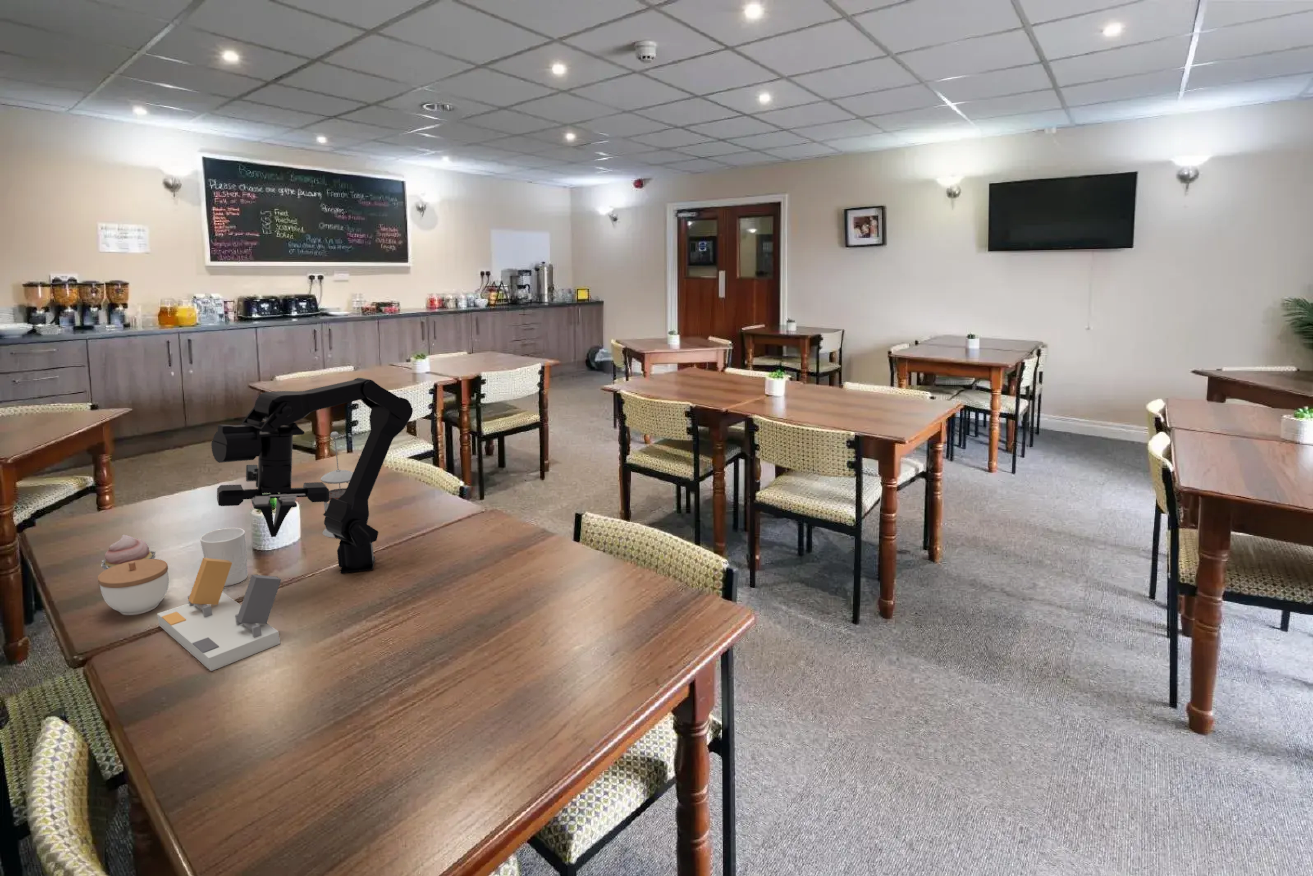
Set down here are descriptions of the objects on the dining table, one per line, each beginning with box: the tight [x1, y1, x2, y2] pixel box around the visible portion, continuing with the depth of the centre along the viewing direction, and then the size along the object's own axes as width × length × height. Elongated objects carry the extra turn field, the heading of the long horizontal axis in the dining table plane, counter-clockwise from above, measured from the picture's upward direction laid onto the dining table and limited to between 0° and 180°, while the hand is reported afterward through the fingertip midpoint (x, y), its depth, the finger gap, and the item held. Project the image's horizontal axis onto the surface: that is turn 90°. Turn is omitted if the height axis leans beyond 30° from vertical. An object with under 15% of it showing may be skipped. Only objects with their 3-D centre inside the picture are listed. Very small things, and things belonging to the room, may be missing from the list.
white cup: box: [199, 527, 249, 587], centre depth 146 cm, size 8×8×10 cm
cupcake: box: [100, 534, 157, 571], centre depth 145 cm, size 9×9×10 cm
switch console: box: [156, 591, 281, 672], centre depth 126 cm, size 11×23×4 cm, turn 52°
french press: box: [320, 431, 354, 539], centre depth 172 cm, size 10×12×25 cm
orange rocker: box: [187, 557, 232, 611], centre depth 130 cm, size 4×5×9 cm
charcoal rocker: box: [237, 574, 282, 631], centre depth 124 cm, size 4×5×9 cm
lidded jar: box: [97, 558, 170, 616], centre depth 134 cm, size 11×11×9 cm
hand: (273, 536), depth 138 cm, fingers closed
